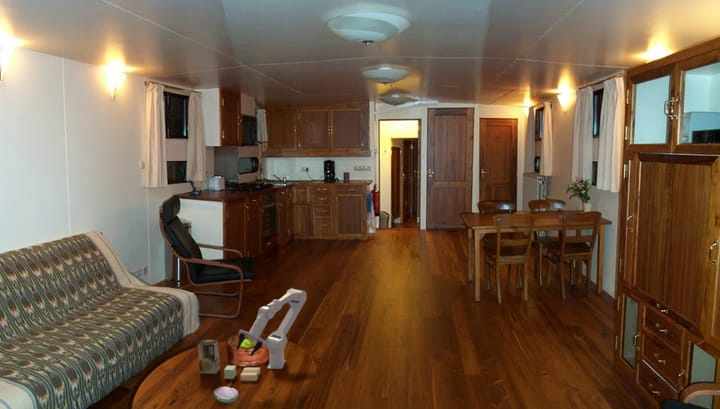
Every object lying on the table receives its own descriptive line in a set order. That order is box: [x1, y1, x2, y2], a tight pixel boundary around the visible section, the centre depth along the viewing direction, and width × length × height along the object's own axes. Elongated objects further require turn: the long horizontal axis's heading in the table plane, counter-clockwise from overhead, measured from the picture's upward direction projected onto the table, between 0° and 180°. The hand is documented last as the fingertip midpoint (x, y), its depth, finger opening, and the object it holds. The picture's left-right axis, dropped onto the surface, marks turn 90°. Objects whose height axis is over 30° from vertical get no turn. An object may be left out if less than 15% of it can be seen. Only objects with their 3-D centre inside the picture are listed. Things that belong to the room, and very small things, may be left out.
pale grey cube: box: [223, 365, 237, 380], centre depth 257 cm, size 5×5×5 cm
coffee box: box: [197, 339, 221, 375], centre depth 263 cm, size 9×6×16 cm
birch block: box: [240, 367, 261, 382], centre depth 256 cm, size 8×8×4 cm
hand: (244, 352), depth 247 cm, fingers open, 7 cm apart
